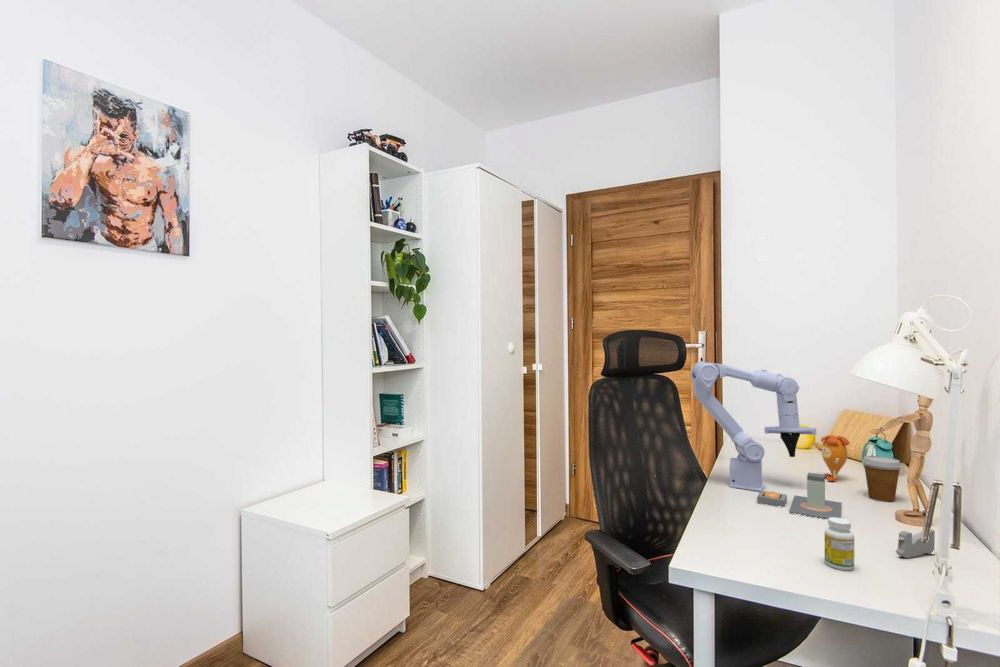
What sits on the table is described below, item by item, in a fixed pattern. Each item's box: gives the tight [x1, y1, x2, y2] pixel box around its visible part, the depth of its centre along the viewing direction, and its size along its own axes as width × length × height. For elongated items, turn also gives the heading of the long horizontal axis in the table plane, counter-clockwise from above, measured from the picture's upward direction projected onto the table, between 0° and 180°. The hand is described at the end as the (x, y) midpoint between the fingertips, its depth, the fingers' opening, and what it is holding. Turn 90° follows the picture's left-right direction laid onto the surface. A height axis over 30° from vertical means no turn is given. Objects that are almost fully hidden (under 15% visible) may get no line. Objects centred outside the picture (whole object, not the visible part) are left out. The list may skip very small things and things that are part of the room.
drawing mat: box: [788, 494, 842, 520], centre depth 146 cm, size 12×18×1 cm, turn 146°
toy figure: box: [820, 434, 850, 482], centre depth 175 cm, size 12×8×15 cm, turn 159°
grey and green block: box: [806, 472, 826, 510], centre depth 146 cm, size 4×4×9 cm
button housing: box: [756, 490, 788, 508], centre depth 151 cm, size 7×7×2 cm
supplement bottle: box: [824, 517, 855, 571], centre depth 109 cm, size 5×5×10 cm
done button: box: [765, 491, 781, 499], centre depth 151 cm, size 4×4×2 cm
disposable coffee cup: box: [862, 455, 902, 503], centre depth 155 cm, size 10×10×12 cm
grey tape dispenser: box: [895, 528, 936, 559], centre depth 114 cm, size 6×1×10 cm
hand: (792, 456), depth 164 cm, fingers closed
